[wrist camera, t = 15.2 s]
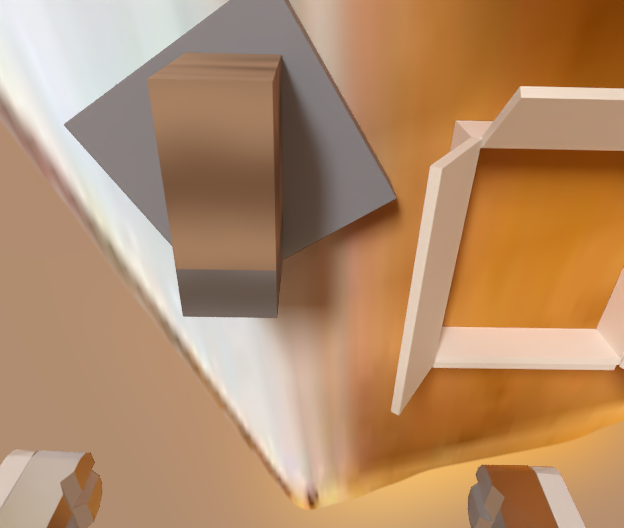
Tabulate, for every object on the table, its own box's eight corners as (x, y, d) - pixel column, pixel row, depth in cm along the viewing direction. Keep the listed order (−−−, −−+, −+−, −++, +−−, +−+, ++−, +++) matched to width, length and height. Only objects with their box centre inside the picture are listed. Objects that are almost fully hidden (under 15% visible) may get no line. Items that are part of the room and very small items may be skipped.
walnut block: (185, 52, 25) (146, 78, 19) (281, 54, 25) (272, 81, 19) (207, 250, 31) (183, 316, 25) (283, 251, 31) (277, 317, 25)
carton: (409, 60, 28) (444, 92, 21) (776, 68, 28) (939, 103, 21) (375, 337, 39) (390, 421, 32) (638, 340, 40) (713, 425, 32)
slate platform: (272, -29, 26) (268, -29, 23) (389, 179, 32) (396, 198, 29) (84, 111, 29) (63, 124, 27) (222, 272, 36) (216, 295, 33)
